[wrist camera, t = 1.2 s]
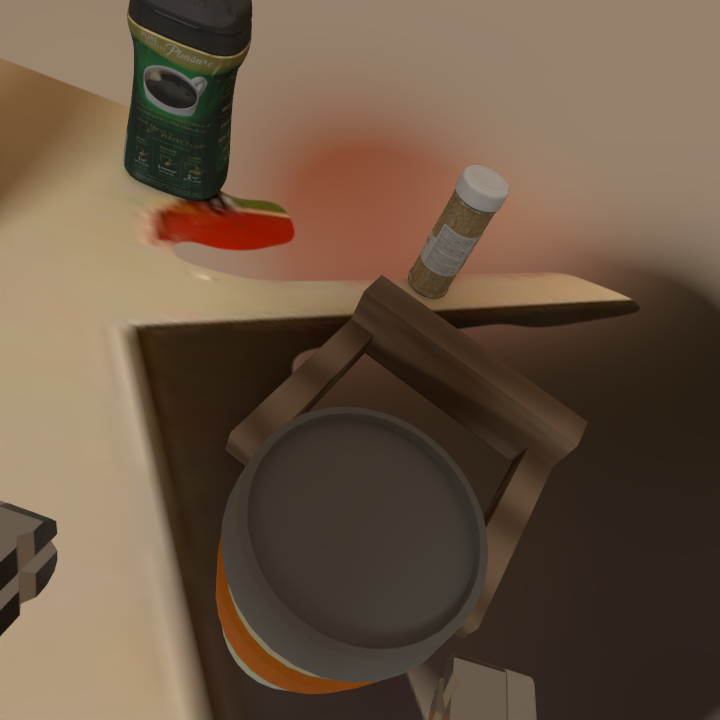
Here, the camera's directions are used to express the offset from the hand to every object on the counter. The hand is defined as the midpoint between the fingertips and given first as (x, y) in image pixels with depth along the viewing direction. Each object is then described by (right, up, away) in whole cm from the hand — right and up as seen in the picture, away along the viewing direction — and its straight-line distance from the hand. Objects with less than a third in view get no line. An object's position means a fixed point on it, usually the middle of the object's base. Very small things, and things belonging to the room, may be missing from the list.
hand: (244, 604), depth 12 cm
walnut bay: (+6, -3, +37) cm, 37 cm away
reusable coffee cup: (-2, -11, +27) cm, 29 cm away
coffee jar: (-16, +23, +49) cm, 57 cm away
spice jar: (+9, +13, +51) cm, 54 cm away
